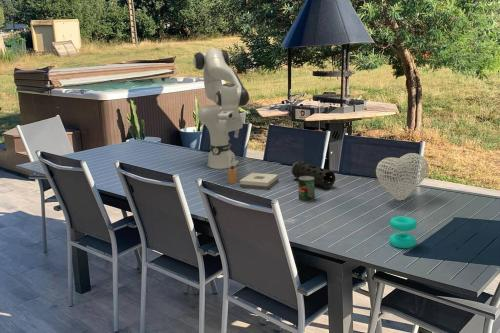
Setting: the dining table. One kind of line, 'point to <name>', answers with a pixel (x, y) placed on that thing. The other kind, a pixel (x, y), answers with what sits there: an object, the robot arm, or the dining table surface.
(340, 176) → the dining table surface
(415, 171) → the heart
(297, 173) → the muzzle brake
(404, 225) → the donuts
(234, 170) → the plug
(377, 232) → the dining table surface
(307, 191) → the canned tomato
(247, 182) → the socket block
